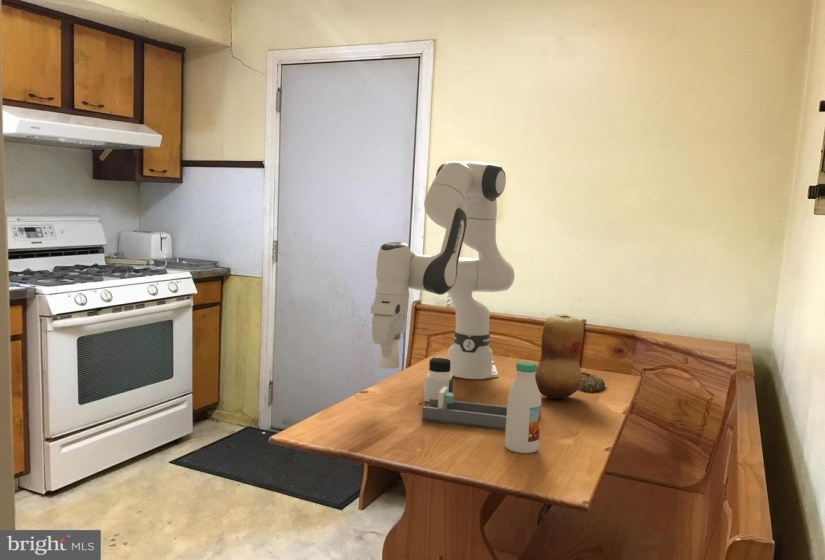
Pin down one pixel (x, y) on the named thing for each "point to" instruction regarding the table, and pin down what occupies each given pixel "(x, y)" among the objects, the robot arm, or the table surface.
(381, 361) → the jar
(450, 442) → the table surface
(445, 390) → the pusher
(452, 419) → the lane
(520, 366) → the milk bottle
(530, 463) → the table surface
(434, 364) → the medicine bottle
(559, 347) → the butternut squash
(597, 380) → the grey speckled flat mound
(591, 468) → the table surface
